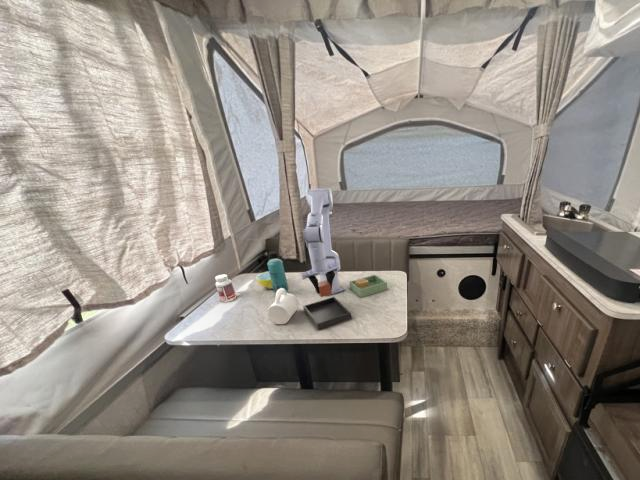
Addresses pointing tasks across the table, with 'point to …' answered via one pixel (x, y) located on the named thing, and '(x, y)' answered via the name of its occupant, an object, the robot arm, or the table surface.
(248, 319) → the table surface
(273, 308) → the mug
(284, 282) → the beverage bottle
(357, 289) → the bin
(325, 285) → the terracotta block
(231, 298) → the pill bottle
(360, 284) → the beech block
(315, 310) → the pan
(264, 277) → the bowl
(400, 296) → the table surface
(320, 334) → the table surface
